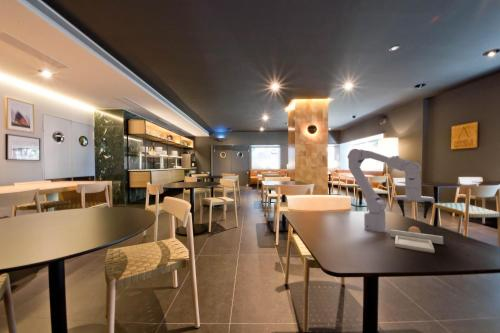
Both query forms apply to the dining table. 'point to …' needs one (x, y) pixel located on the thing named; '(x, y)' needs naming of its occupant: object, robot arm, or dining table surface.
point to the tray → (414, 244)
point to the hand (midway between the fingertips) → (414, 217)
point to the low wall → (418, 236)
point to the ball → (414, 229)
